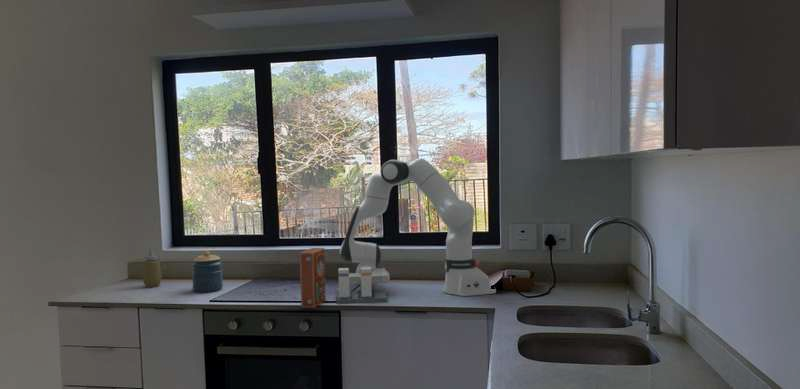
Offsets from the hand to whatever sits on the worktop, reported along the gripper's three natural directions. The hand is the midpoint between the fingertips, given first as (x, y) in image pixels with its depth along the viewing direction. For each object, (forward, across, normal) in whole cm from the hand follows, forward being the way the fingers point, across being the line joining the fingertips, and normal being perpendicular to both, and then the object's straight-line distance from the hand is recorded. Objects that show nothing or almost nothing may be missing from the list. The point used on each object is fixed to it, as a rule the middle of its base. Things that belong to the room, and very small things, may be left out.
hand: (366, 282), depth 200 cm
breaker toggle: (+4, 0, +5) cm, 6 cm away
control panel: (+6, -21, +7) cm, 23 cm away
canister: (-27, -72, +7) cm, 77 cm away
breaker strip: (0, -2, +7) cm, 7 cm away
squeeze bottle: (-38, -101, +7) cm, 108 cm away
